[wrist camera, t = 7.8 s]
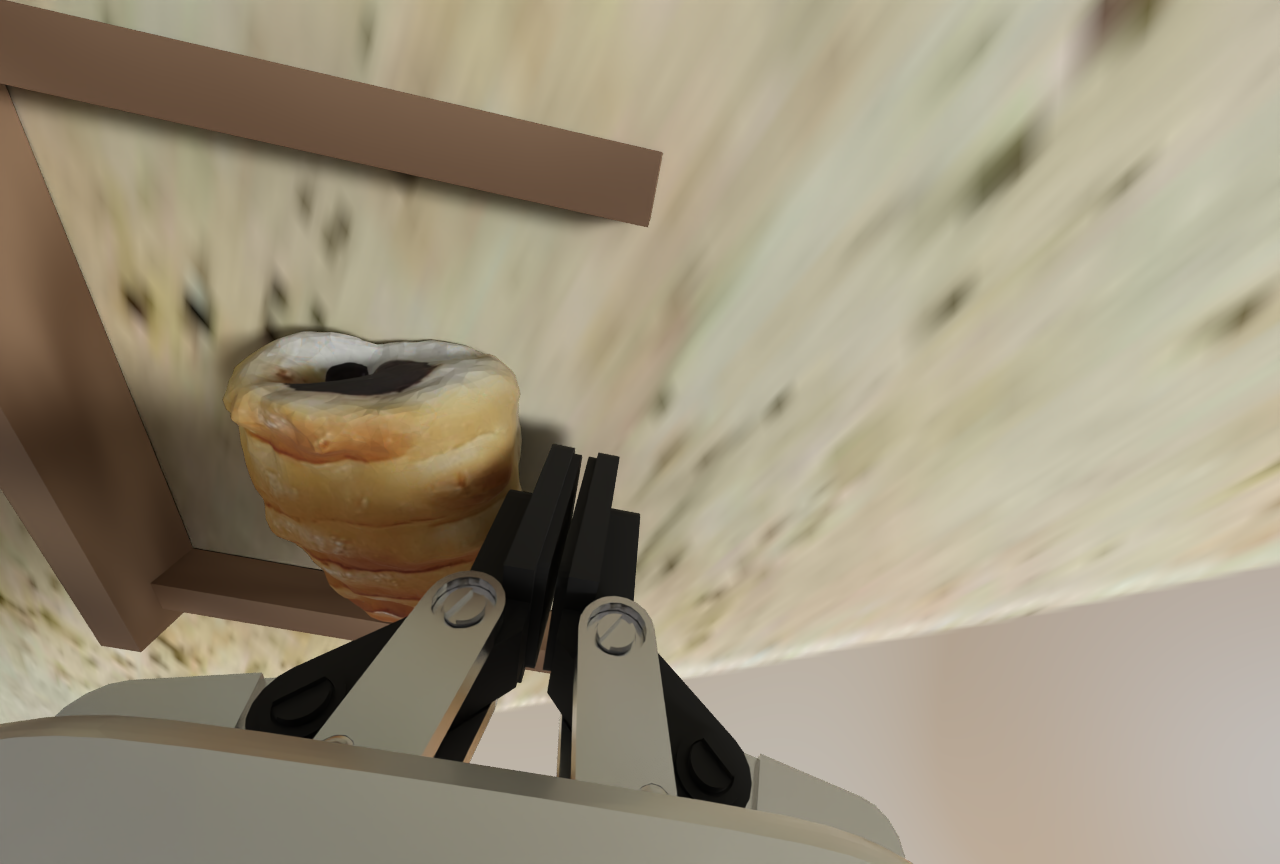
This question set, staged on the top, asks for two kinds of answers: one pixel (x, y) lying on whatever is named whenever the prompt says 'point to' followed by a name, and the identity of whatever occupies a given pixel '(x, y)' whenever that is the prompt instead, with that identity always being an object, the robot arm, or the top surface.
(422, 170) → the bay
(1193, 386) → the top surface
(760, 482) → the top surface
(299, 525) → the pastry
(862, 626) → the top surface
